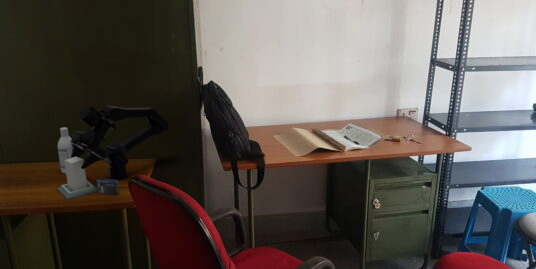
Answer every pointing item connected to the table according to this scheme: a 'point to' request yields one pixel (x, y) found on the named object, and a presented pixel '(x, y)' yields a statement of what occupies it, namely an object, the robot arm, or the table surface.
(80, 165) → the white post
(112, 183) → the mini dv tape
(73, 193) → the base plate
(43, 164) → the table surface
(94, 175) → the table surface
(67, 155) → the bath foam
